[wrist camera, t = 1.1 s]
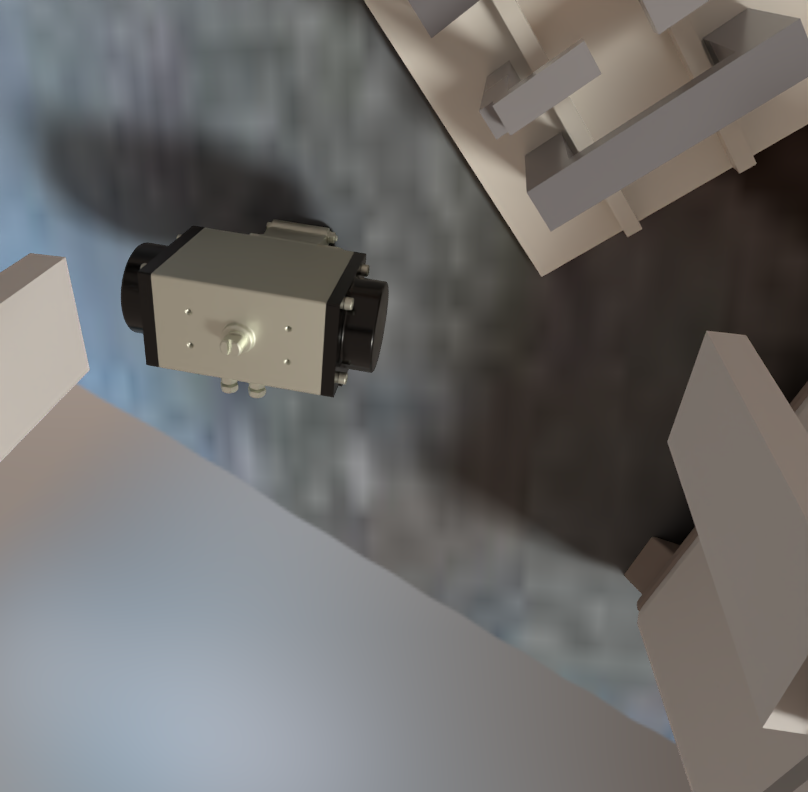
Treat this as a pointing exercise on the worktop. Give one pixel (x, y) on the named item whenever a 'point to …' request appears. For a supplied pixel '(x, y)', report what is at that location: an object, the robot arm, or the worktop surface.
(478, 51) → the board
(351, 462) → the worktop surface
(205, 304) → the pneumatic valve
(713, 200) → the worktop surface
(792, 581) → the robot arm
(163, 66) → the worktop surface
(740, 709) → the toaster
